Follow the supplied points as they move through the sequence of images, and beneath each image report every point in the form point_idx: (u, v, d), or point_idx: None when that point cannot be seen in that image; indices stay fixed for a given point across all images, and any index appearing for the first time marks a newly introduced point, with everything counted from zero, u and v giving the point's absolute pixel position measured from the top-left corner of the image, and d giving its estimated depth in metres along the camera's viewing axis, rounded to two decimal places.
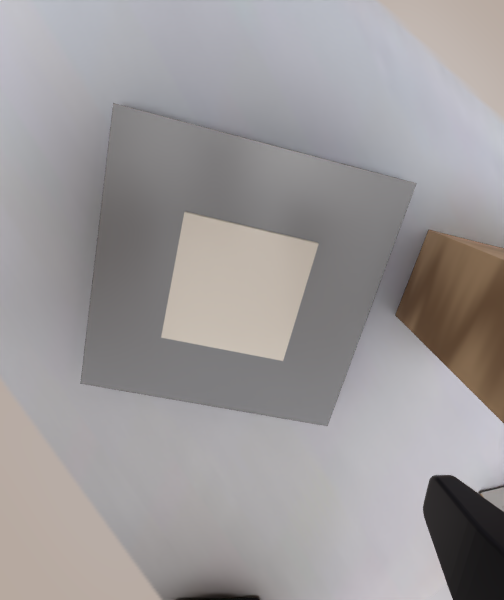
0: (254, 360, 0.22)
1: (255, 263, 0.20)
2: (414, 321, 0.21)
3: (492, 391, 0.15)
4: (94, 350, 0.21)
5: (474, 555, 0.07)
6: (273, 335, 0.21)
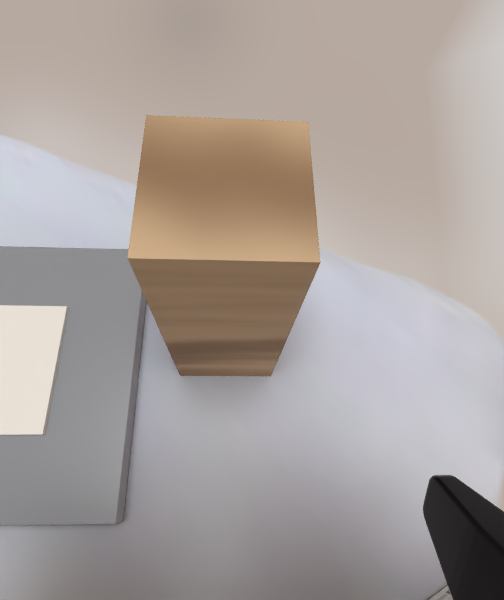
0: (11, 445, 0.19)
1: (6, 334, 0.21)
2: None
3: None
4: None
5: (474, 555, 0.07)
6: (29, 404, 0.19)
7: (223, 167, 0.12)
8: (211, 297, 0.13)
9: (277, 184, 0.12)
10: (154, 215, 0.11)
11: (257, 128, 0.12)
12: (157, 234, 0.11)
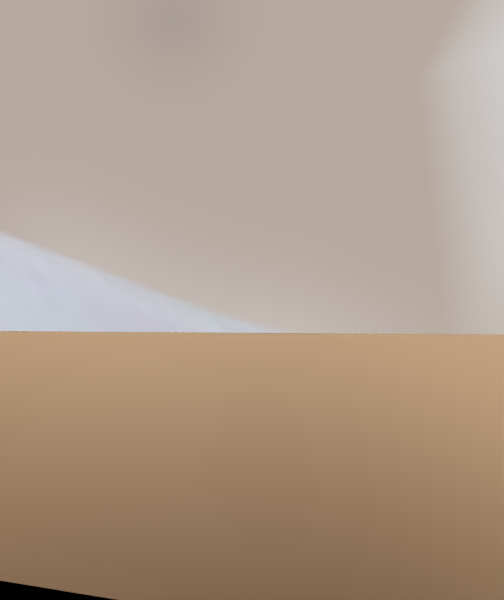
0: None
1: None
2: None
3: None
4: None
5: None
6: None
7: None
8: None
9: None
10: None
11: (328, 389, 0.03)
12: None
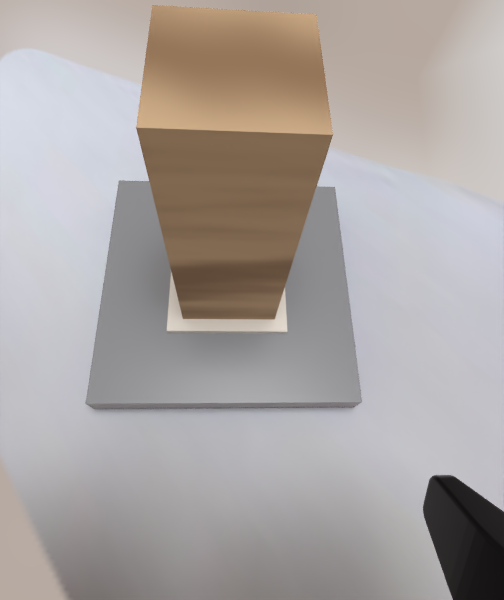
0: (260, 341, 0.22)
1: None
2: None
3: None
4: (101, 361, 0.21)
5: (474, 555, 0.07)
6: None
7: (232, 51, 0.12)
8: (220, 190, 0.12)
9: (287, 67, 0.11)
10: (163, 91, 0.11)
11: (265, 19, 0.12)
12: (166, 107, 0.10)
